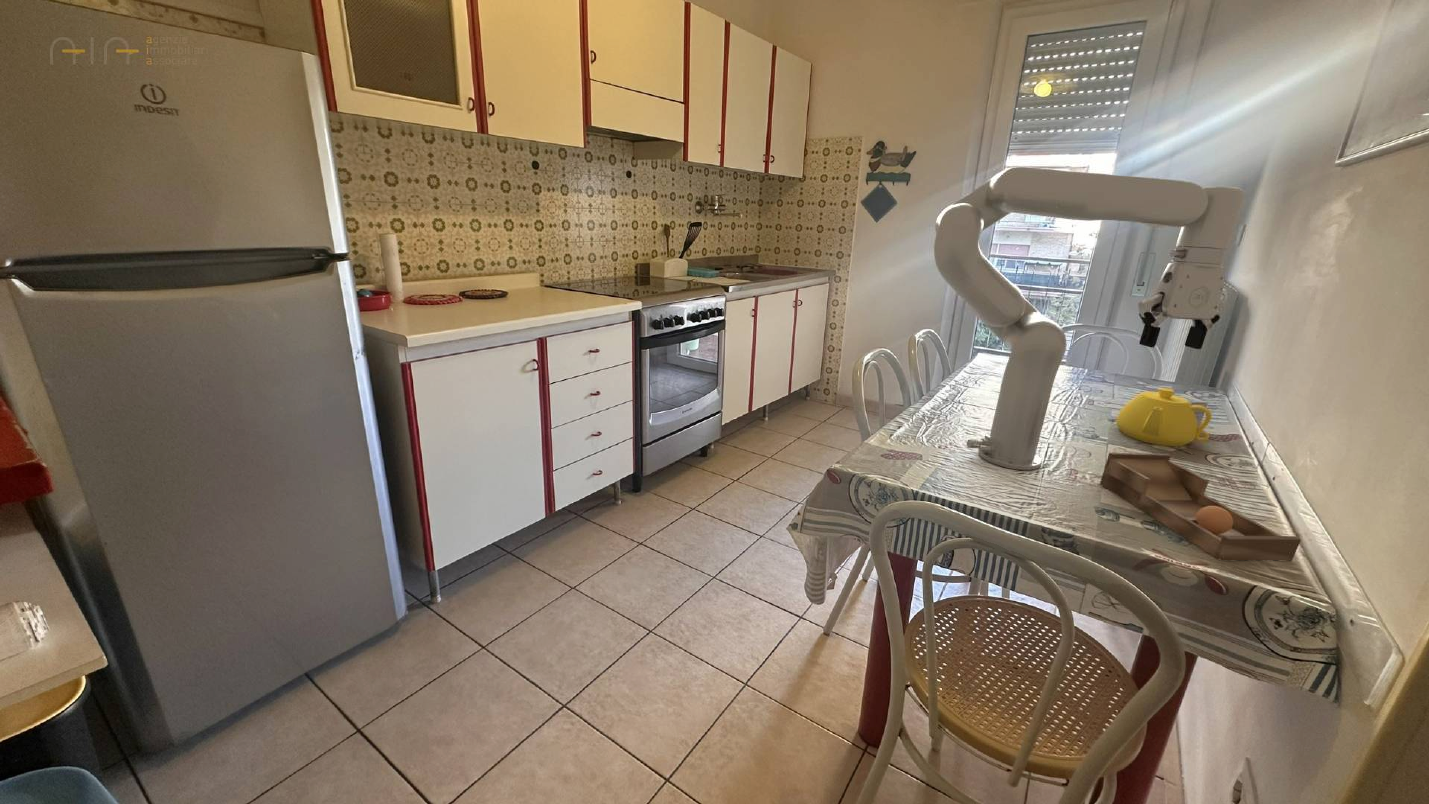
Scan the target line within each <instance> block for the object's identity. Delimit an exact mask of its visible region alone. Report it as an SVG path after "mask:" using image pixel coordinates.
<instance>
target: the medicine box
mask: <svg viewBox="0 0 1429 804" xmlns="http://www.w3.org/2000/svg"><path fill="white" fill-rule="evenodd" d="M1173 395H1175V396H1178V397H1181V398H1184V399H1186V400H1188V401H1189V403H1190V405H1191V406H1193V405H1200V406H1203V407H1205V408H1207V407H1208V402H1206V401H1204V400H1202V399H1200V398H1199V399H1198V398H1197V397H1193V396H1190V395H1189V394H1185V393H1176V392H1175V393H1174V394H1173ZM1193 411H1194V414H1195V417H1196V420H1197V429H1198V427H1199V426H1200V425H1201V424H1202V423H1203V418H1204V415H1205V414H1206V413H1205V412H1204V411H1201V410H1196V409H1193Z"/></svg>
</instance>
